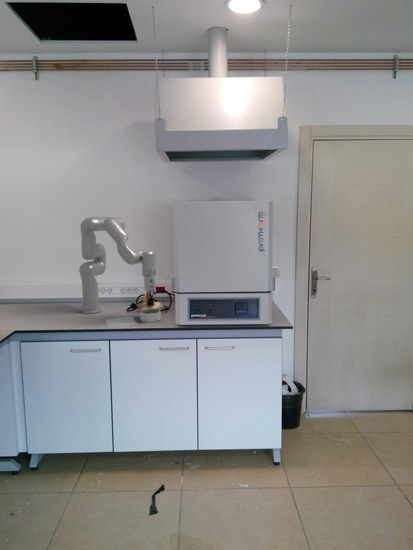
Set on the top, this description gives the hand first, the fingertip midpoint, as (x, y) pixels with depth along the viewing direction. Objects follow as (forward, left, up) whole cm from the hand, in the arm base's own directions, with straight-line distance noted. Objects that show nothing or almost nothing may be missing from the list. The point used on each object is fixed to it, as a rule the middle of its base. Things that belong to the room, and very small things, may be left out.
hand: (150, 303), depth 222 cm
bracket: (+4, +16, -10) cm, 19 cm away
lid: (0, 0, -2) cm, 2 cm away
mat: (-17, 0, -10) cm, 20 cm away
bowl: (0, 0, -10) cm, 10 cm away
